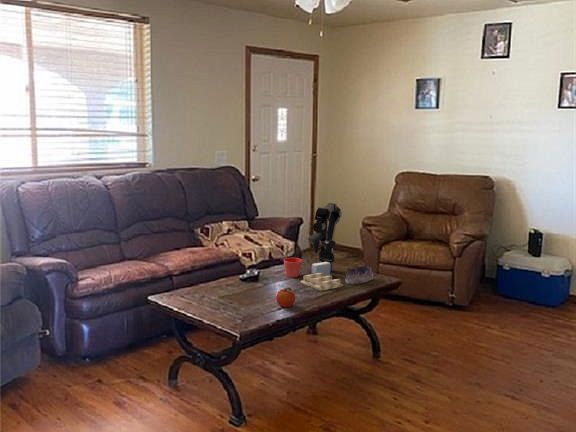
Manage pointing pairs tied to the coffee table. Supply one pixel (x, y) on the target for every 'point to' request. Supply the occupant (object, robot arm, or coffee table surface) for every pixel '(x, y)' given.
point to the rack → (321, 281)
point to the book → (321, 268)
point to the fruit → (285, 297)
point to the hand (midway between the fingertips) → (321, 255)
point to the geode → (358, 275)
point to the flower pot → (292, 266)
